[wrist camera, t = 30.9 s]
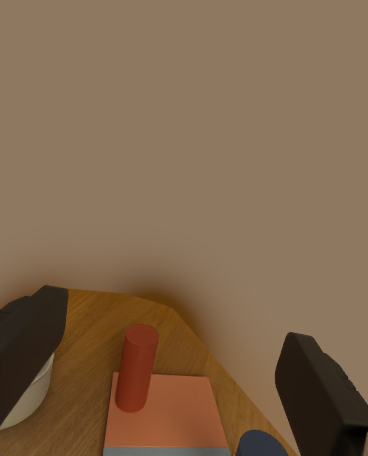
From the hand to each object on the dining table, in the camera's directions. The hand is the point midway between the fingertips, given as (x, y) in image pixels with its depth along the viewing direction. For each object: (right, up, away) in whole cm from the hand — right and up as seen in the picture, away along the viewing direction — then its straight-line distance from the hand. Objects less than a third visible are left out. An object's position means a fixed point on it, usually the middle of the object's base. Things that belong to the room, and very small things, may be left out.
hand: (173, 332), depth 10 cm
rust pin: (-7, -21, +31) cm, 38 cm away
